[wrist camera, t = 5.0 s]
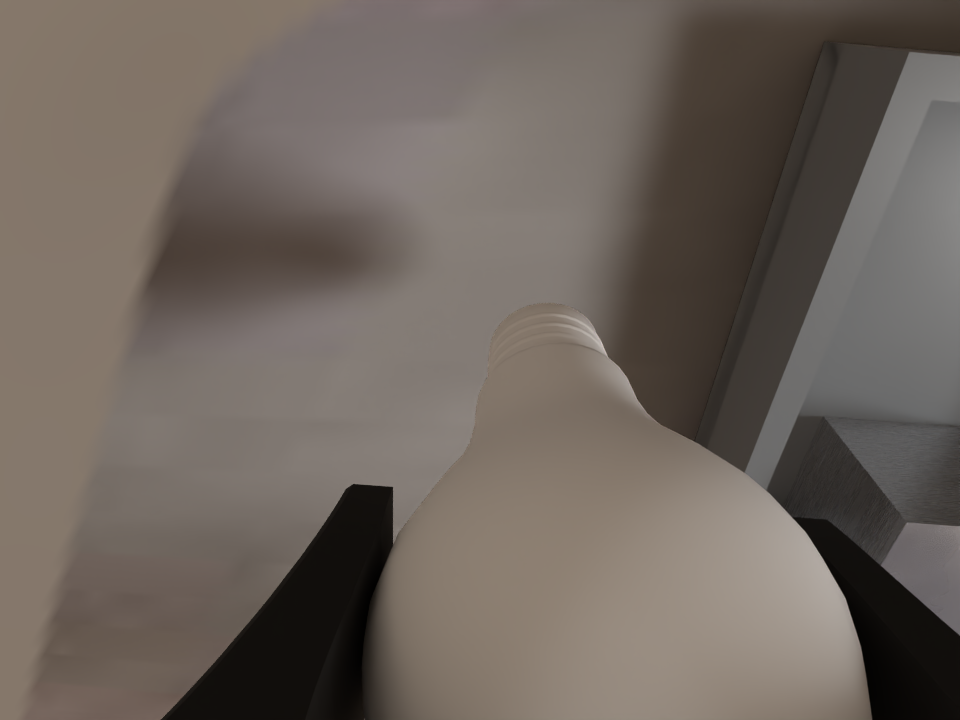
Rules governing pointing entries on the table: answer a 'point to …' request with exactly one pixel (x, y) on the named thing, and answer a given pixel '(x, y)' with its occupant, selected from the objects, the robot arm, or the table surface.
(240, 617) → the table surface
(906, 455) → the steel block
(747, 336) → the tote
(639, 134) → the table surface
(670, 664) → the lightbulb
